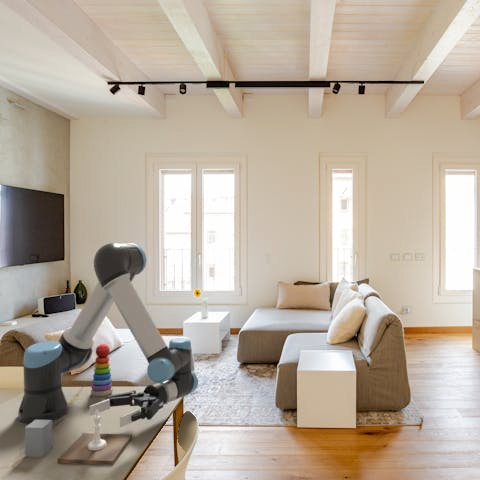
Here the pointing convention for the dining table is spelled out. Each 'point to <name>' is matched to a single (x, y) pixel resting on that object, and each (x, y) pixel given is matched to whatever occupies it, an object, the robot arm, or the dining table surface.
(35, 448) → the slate block
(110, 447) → the walnut pad
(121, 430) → the dining table surface
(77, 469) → the dining table surface
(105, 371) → the stacking toy
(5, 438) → the dining table surface
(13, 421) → the dining table surface
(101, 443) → the chess piece
